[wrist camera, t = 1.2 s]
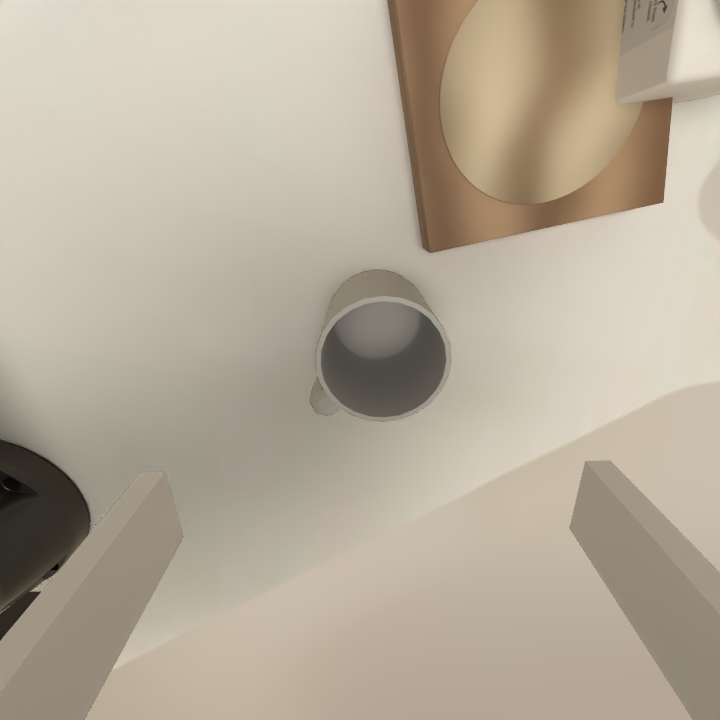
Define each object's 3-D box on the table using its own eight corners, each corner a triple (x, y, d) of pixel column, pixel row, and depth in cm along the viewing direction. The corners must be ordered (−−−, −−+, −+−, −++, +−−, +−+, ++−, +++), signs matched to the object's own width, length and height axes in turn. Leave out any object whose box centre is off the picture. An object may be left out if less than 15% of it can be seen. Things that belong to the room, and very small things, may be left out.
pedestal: (422, 247, 26) (431, 253, 23) (386, -6, 21) (391, -42, 18) (629, 202, 25) (667, 202, 22) (645, -77, 20) (697, -128, 17)
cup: (444, 314, 28) (479, 359, 20) (354, 400, 31) (352, 471, 23) (374, 246, 26) (381, 265, 18) (286, 345, 29) (256, 400, 21)
